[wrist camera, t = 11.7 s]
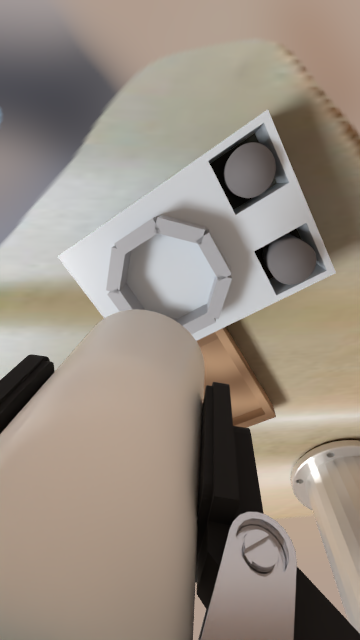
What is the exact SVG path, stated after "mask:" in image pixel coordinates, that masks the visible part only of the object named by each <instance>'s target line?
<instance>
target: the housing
mask: <svg viewBox="0 0 360 640" xmlns="http://www.w3.org/2000/svg"><path fill="white" fill-rule="evenodd" d="M254 133H255V135H256V137H257V139H258V142H259V143H260V144H263V145H264V146H266V147H267V148H268V149H269V150H270V151H271V152H272V154H273V156H274V159H275V163H276V171H275V176H274V178H275V180H276V184H275V185H273V186H271V187H270V188H268V189H267V190H266V191H265V192H263V193H262V194H260V195H258V196H256V197H253V198H252V199H250V200H248V201H247V202H245V203H244V204H242V205H240V206H239V207H237V208H235V209H234V210H233V209H232V207H231V205H230V203H229V201H228V199H227V197H226V195H225V193H224V191H223V189H222V187H221V185H220V183H219V181H218V179H217V177H216V175H215V173H214V171H213V169H212V167H211V165H210V163H212V162H213V161H215V160H216V159H218V158H219V157H221V156H222V155H224V154H225V153H227V152H228V151H229V150H231V149H232V148H234V147H235V146H237V145H238V144H240V143H241V142H243V141H244V140H246V139H247V138H248V137H250V136H251V135H253V134H254ZM296 228H297V230H298V232H299V235H300V237H301V239H302V241H304V242H305V243H307V244H309V245H310V246H311V247H312V248H313V250H314V251H315V254H316V266H315V269H314V271H313V272H312V274H311V275H310V276H309V277H308V278H307V279H306V280H304V281H302V282H300V283H298V284H292V285H288V284H283V283H281V282H279V281H278V280H276V279H275V277H273V278H271V279H269V280H268V278H267V276H266V274H265V272H264V270H263V268H262V266H261V264H260V262H259V260H258V258H257V256H256V254H255V252H254V251H256V250H258V249H260V248H261V247H263V246H265V245H267V244H269V243H270V242H272V241H274V240H276V239H278V238H279V237H281V236H283V235H285V234H287V233H289V232H290V231H292V230H294V229H296ZM57 257H58V258H59V259H60V261H61V262H62V263H63V265H64V266H65V267H66V269H67V270H68V271H69V273H70V274H71V275H72V276H73V278H74V279H75V280H76V282H77V283H78V284H79V286H80V287H81V288H82V290H83V291H84V292H85V294H86V295H87V296H88V298H89V299H90V300H91V301H92V303H93V304H94V305H95V307H96V308H97V309H98V311H99V312H100V313H101V315H102V316H103V317H104V318H106V317H107V316H109V315H112V314H114V313H117V312H120V311H125V310H136V309H139V310H148V311H153V312H157V313H160V314H163V315H165V316H167V317H170V318H172V319H173V320H175V321H176V322H178V323H180V324H181V325H182V326H183V327H184V328H186V329H187V330H188V331H189V332H190V333H191V335H192V336H193V337H194V339H195V340H196V341H197V340H199V339H201V338H203V337H205V336H207V335H209V334H212V333H214V332H216V331H218V330H220V329H222V328H224V327H226V326H228V325H230V324H232V323H234V322H236V321H238V320H240V319H242V318H244V317H246V316H248V315H251V314H253V313H255V312H257V311H259V310H261V309H263V308H265V307H267V306H269V305H271V304H273V303H275V302H277V301H279V300H281V299H283V298H285V297H287V296H290V295H292V294H294V293H296V292H298V291H300V290H302V289H304V288H306V287H308V286H310V285H312V284H314V283H316V282H318V281H320V280H322V279H324V278H326V277H329V276H331V275H333V274H335V273H336V272H335V270H334V267H333V265H332V262H331V260H330V257H329V255H328V253H327V250H326V248H325V245H324V243H323V241H322V238H321V236H320V233H319V231H318V229H317V226H316V224H315V221H314V219H313V217H312V214H311V212H310V209H309V207H308V205H307V202H306V200H305V197H304V195H303V193H302V190H301V188H300V185H299V183H298V180H297V178H296V176H295V173H294V171H293V168H292V166H291V164H290V161H289V159H288V156H287V154H286V152H285V149H284V147H283V144H282V142H281V140H280V137H279V135H278V132H277V130H276V128H275V125H274V123H273V120H272V118H271V116H270V113H269V111H268V110H266V111H265V112H263V113H262V114H260V115H259V116H258V117H256V118H255V119H253V120H252V121H250V122H249V123H248V124H246V125H245V126H243V127H242V128H240V129H239V130H238V131H236V132H235V133H233V134H232V135H230V136H229V137H228V138H226V139H225V140H223V141H222V142H220V143H219V144H218V145H216V146H215V147H213V148H212V149H210V150H209V151H208V152H206V153H205V154H203V155H202V156H200V157H199V158H198V159H196V160H195V161H193V162H192V163H190V164H189V165H187V166H186V167H185V168H183V169H182V170H180V171H179V172H177V173H176V174H175V175H173V176H172V177H170V178H169V179H167V180H166V181H165V182H163V183H162V184H160V185H159V186H157V187H156V188H155V189H153V190H152V191H150V192H149V193H147V194H146V195H145V196H143V197H142V198H140V199H139V200H137V201H136V202H135V203H133V204H132V205H130V206H129V207H127V208H126V209H125V210H123V211H122V212H120V213H119V214H117V215H116V216H114V217H113V218H112V219H110V220H109V221H107V222H106V223H104V224H103V225H102V226H100V227H99V228H97V229H96V230H94V231H93V232H92V233H90V234H89V235H87V236H86V237H84V238H83V239H82V240H80V241H79V242H77V243H76V244H74V245H73V246H72V247H70V248H69V249H67V250H66V251H64V252H63V253H62V254H60V255H59V256H57Z"/></svg>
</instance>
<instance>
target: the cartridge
mask: <svg viewBox="0 0 360 640" xmlns="http://www.w3.org/2000/svg"><path fill="white" fill-rule="evenodd" d="M204 373H205V366H204V359H203V354H202V352H201V349H200V347H199V345H198V343H197V341H196V340H195V339H194V337H193V336H192V335H191V333H190V332H189V331H188V330H187V329H186V328H184V327H183V326H182V325H181V324H180V323H178V322H176V321H175V320H173V319H172V318H170V317H167V316H165V315H163V314H160V313H157V312H153V311H148V310H139V309H136V310H125V311H120V312H117V313H114V314H112V315H109V316H107V317H106V318H104V319H103V320H101V321H100V322H99V323H98V324H96V325H95V326H94V327H93V329H92V330H91V331H90V332H89V333H88V334H87V335H86V337H85V338H84V339H83V340H82V341H81V342H80V343H79V345H78V346H77V347H76V348H75V349H74V350H73V351H72V353H71V354H70V355H69V356H68V357H67V358H66V359H65V361H64V362H63V363H62V364H61V365H60V366H59V367H58V369H57V370H56V371H55V372H54V373H53V374H52V375H51V377H50V378H49V379H48V380H47V381H46V382H45V383H44V385H43V386H42V387H41V388H40V389H39V390H38V391H37V393H36V394H35V395H34V396H33V397H32V398H31V399H30V401H29V402H28V403H27V404H26V405H25V406H24V407H23V409H22V410H21V411H20V412H19V413H18V414H17V415H16V417H15V418H14V419H13V420H12V421H11V422H10V423H9V425H8V426H7V427H6V428H5V429H4V430H3V431H2V433H1V434H0V640H193V621H194V599H195V597H194V596H195V576H196V554H197V531H198V525H197V513H198V492H199V471H200V449H201V428H202V407H203V396H204Z"/></svg>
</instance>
